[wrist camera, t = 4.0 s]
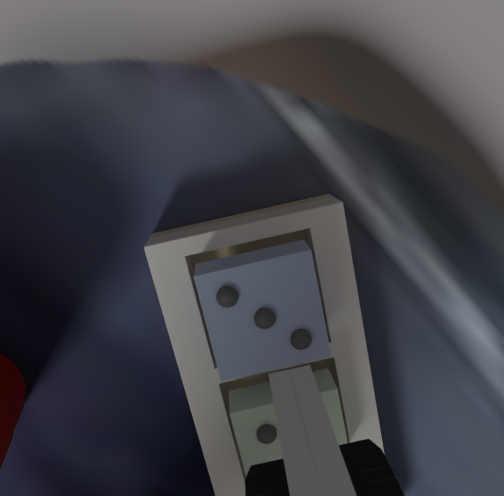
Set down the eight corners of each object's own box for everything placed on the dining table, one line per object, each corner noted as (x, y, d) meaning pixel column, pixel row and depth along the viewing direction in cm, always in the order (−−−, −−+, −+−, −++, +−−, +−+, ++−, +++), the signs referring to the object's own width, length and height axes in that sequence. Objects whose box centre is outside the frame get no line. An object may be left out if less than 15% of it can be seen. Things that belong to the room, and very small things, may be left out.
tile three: (220, 361, 26) (221, 383, 24) (195, 263, 25) (193, 277, 22) (322, 338, 26) (332, 357, 24) (303, 239, 25) (312, 250, 22)
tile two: (250, 474, 28) (253, 505, 26) (228, 391, 27) (229, 415, 24) (344, 452, 28) (355, 481, 26) (328, 368, 27) (338, 390, 25)
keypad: (241, 550, 34) (244, 594, 31) (152, 233, 28) (143, 247, 25) (384, 516, 34) (401, 557, 31) (328, 193, 28) (342, 202, 25)
